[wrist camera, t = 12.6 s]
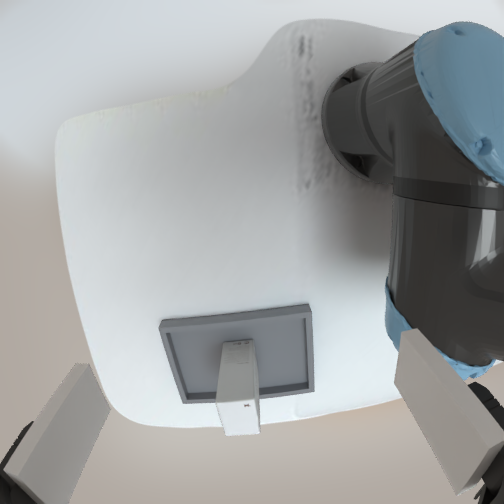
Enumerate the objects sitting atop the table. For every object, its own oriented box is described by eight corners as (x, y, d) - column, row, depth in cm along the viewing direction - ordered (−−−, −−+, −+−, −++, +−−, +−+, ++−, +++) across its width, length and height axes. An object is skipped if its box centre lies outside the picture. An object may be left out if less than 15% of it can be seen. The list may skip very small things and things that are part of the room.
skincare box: (222, 341, 40) (214, 401, 29) (253, 338, 40) (255, 398, 29) (229, 375, 42) (224, 437, 31) (258, 373, 42) (262, 434, 31)
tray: (308, 303, 40) (311, 311, 38) (311, 382, 43) (314, 391, 41) (162, 320, 40) (158, 327, 38) (185, 394, 44) (183, 403, 42)
